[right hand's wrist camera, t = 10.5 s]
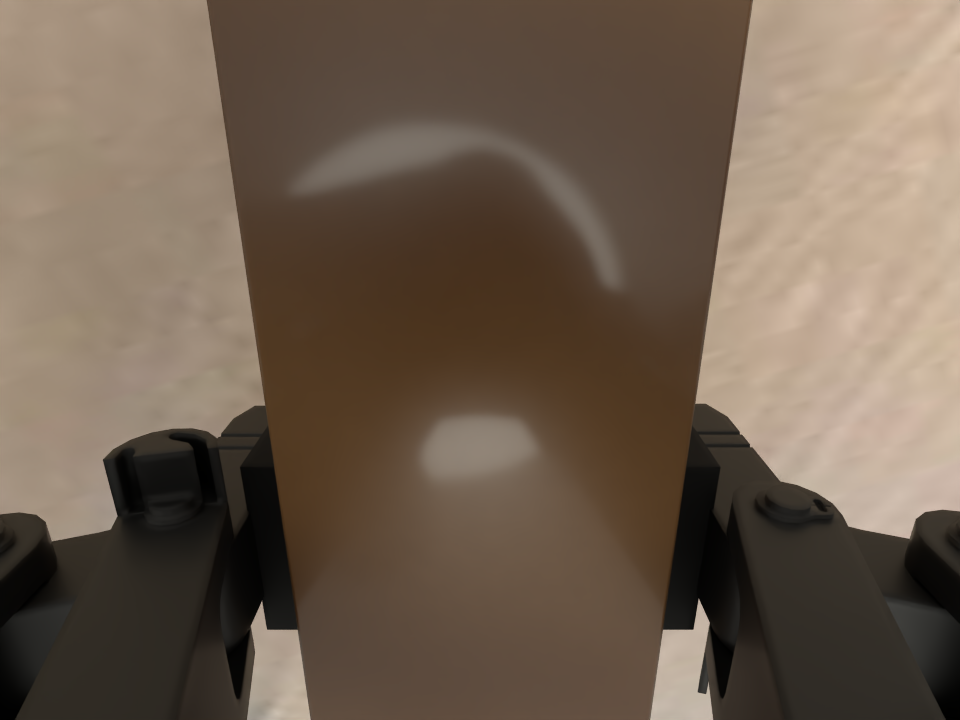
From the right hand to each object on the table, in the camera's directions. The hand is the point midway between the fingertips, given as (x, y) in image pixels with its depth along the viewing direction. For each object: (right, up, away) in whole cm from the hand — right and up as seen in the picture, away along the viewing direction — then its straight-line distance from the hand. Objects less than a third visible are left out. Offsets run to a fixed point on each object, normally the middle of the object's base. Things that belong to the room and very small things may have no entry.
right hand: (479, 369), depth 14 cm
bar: (0, -26, +11) cm, 29 cm away
